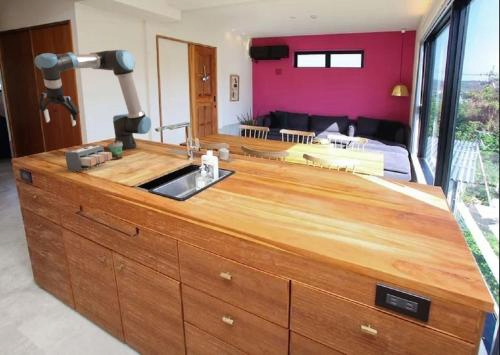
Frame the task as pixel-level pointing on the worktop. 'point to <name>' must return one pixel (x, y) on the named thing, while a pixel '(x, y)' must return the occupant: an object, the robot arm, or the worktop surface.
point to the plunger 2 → (106, 155)
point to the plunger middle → (97, 158)
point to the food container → (116, 150)
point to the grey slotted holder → (76, 154)
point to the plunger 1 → (87, 161)
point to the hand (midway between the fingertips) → (61, 123)
